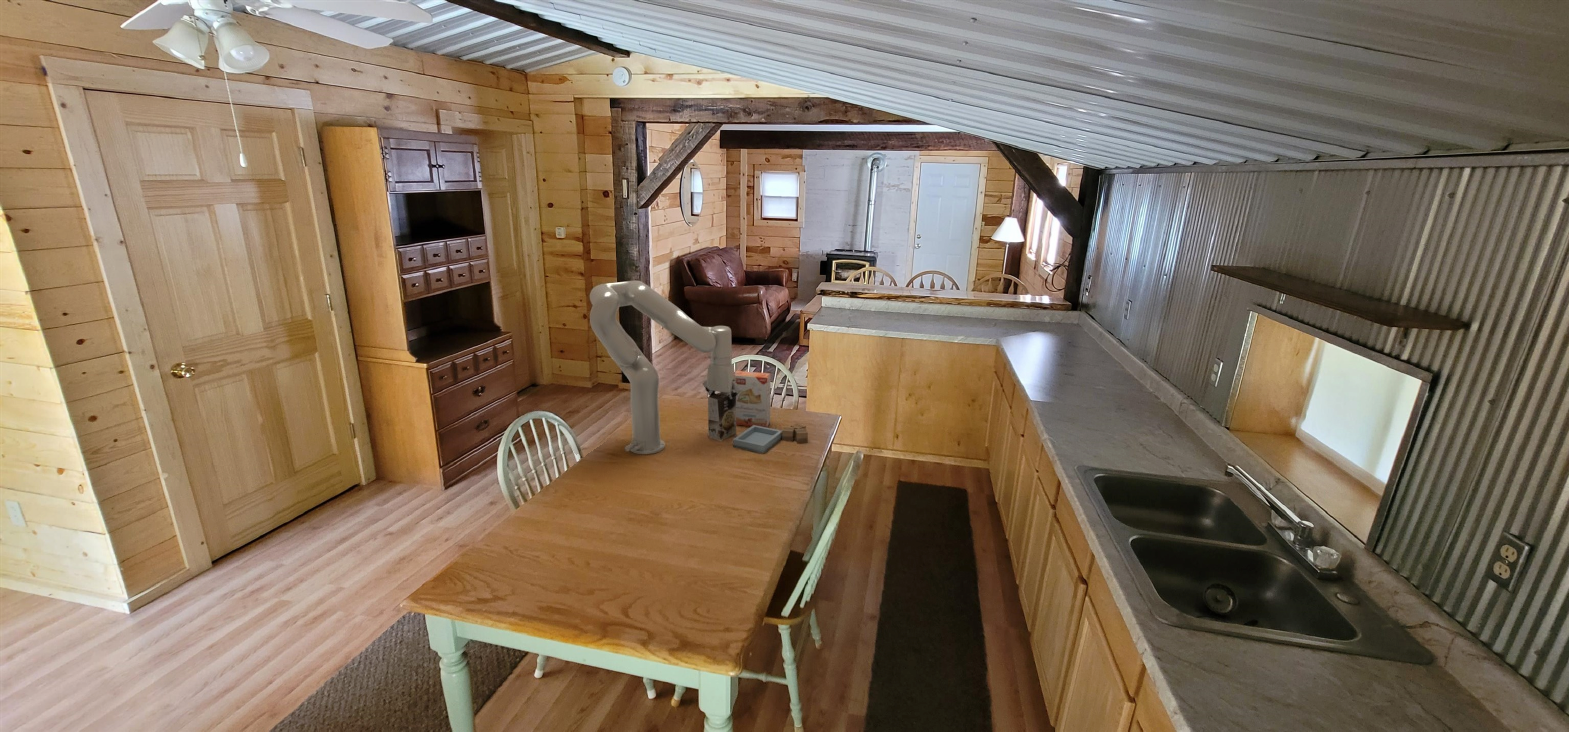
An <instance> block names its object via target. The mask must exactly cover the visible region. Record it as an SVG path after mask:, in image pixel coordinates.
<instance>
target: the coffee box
mask: <svg viewBox="0 0 1569 732" xmlns="http://www.w3.org/2000/svg"><path fill="white" fill-rule="evenodd" d="M728 399H729V396H728V394H727V393H724V392H717V393H716V394H714V395H712V396H710V395H708V397H707V417H708V418H707V419H708V421H707V423H708V424H707V426H708V427H707V430H708V432H707V433H708V438H710V439H713V440H715V441H716V440H717V441H719V442H722V441H723V440H726V439H728V438H731V437H733V436H735V435H737V425H736V397H734V407H733V408H731V409H728Z"/></svg>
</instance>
